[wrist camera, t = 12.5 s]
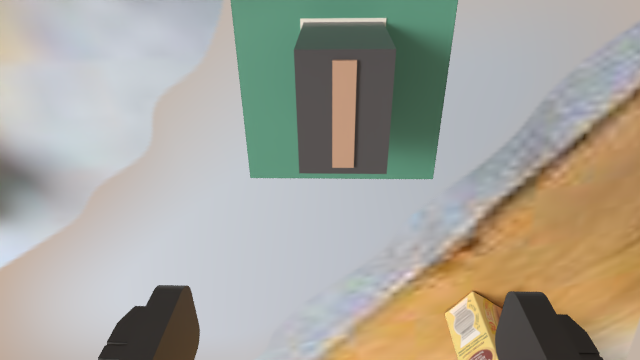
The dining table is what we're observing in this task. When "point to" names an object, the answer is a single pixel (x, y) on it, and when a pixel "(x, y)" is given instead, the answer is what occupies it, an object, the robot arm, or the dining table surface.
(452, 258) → the dining table surface
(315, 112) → the block
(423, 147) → the header board
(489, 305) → the candy box
